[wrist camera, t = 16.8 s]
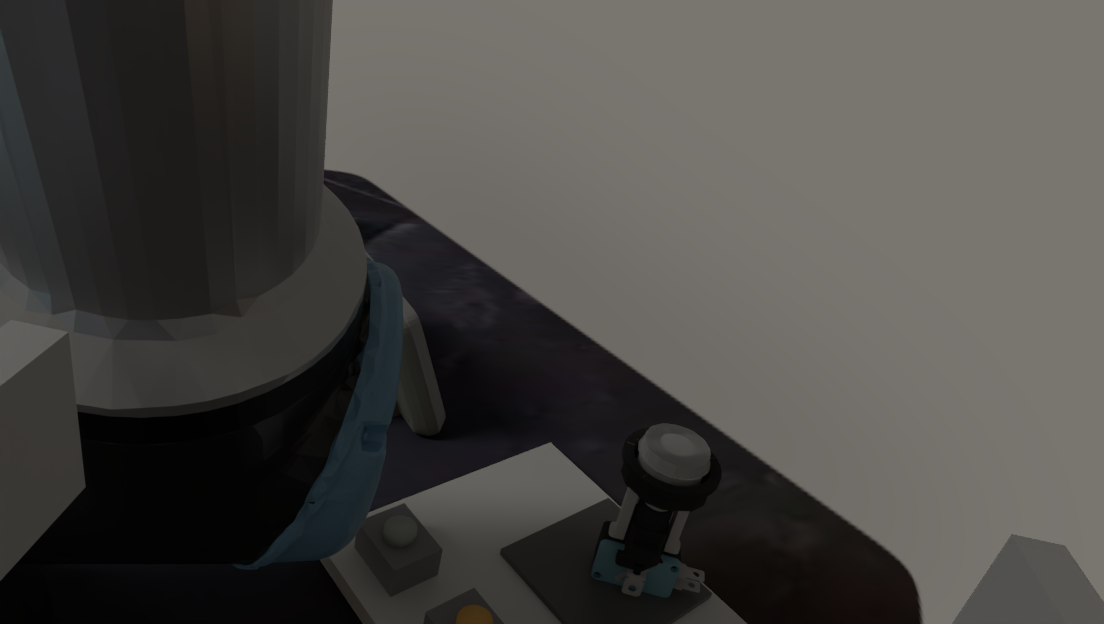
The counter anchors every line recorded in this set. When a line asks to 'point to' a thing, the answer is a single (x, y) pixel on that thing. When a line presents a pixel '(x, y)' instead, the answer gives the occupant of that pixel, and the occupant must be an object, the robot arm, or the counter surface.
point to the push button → (656, 511)
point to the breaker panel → (501, 555)
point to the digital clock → (417, 380)
